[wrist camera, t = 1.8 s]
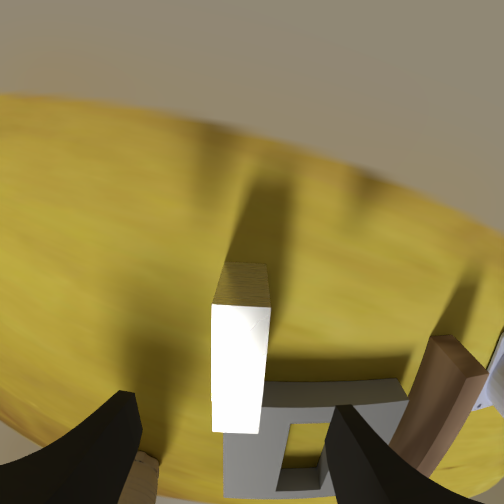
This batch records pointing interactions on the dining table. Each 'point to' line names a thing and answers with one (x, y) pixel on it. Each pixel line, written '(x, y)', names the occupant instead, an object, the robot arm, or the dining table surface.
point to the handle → (141, 481)
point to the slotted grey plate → (296, 412)
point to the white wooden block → (239, 346)
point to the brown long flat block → (438, 403)
